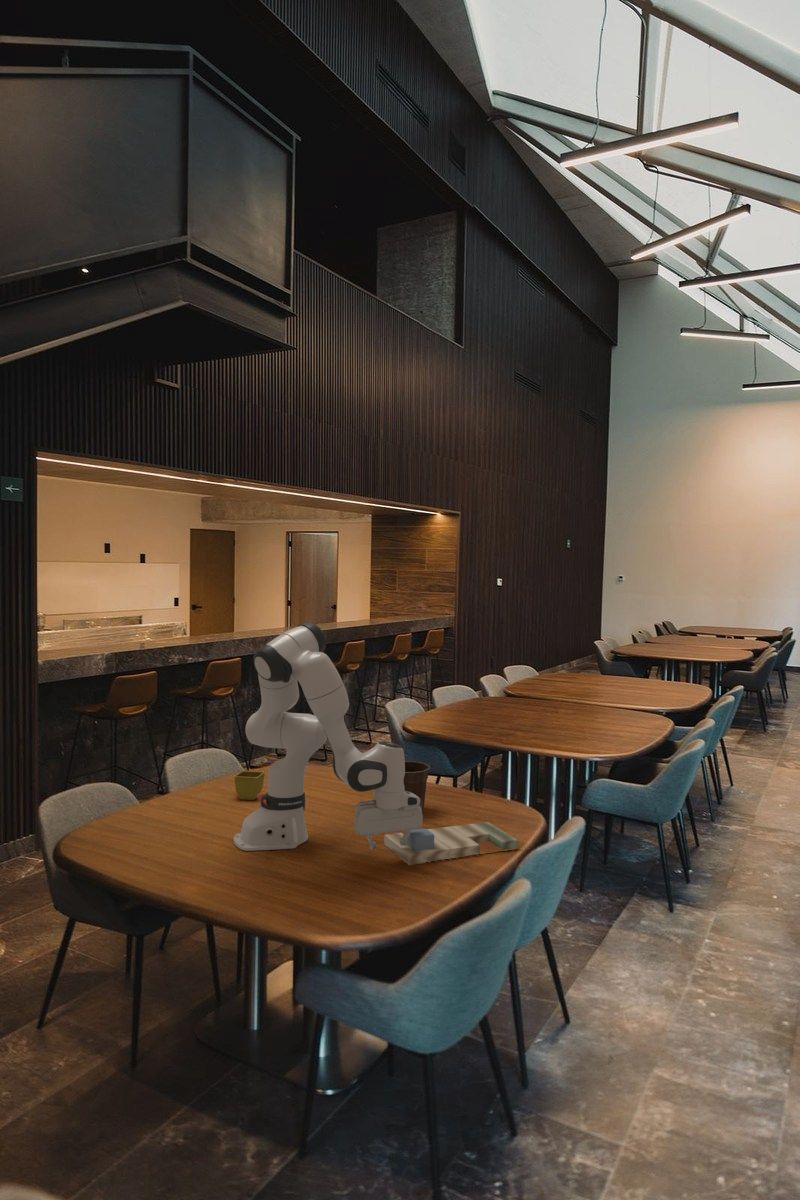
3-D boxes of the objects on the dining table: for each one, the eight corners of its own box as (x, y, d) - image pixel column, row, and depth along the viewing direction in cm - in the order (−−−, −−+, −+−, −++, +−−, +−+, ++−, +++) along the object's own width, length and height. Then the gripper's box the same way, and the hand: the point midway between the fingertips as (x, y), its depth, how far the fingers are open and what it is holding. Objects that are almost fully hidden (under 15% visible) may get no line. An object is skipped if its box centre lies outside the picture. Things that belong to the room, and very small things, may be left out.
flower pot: (241, 794, 281) (242, 770, 281) (264, 795, 280) (265, 771, 280) (233, 801, 273) (233, 776, 272) (256, 802, 272) (257, 777, 271)
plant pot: (374, 815, 260) (375, 768, 259) (392, 803, 275) (393, 758, 274) (419, 822, 254) (420, 774, 253) (435, 809, 269) (436, 763, 268)
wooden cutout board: (408, 865, 215) (408, 854, 215) (384, 844, 232) (384, 834, 232) (517, 849, 230) (517, 839, 229) (487, 831, 246) (487, 821, 246)
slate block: (415, 850, 218) (415, 836, 218) (406, 843, 224) (406, 830, 224) (433, 848, 221) (434, 834, 221) (425, 841, 226) (425, 828, 226)
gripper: (358, 805, 211) (357, 854, 211) (425, 798, 219) (424, 846, 219) (350, 799, 216) (350, 847, 217) (416, 792, 225) (415, 839, 225)
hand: (388, 846), depth 218 cm, fingers open, 8 cm apart
